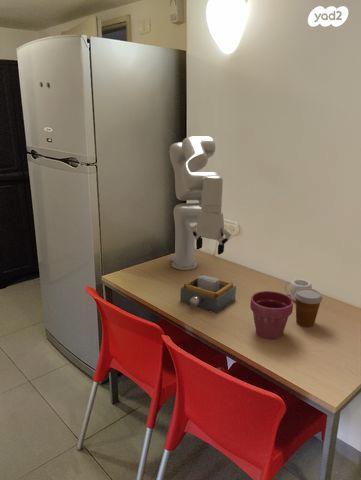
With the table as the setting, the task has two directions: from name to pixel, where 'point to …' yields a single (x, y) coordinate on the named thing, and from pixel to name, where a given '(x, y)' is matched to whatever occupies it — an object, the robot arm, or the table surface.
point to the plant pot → (271, 313)
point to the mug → (297, 286)
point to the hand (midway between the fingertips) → (209, 250)
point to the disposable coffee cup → (307, 306)
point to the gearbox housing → (208, 295)
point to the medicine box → (208, 283)
